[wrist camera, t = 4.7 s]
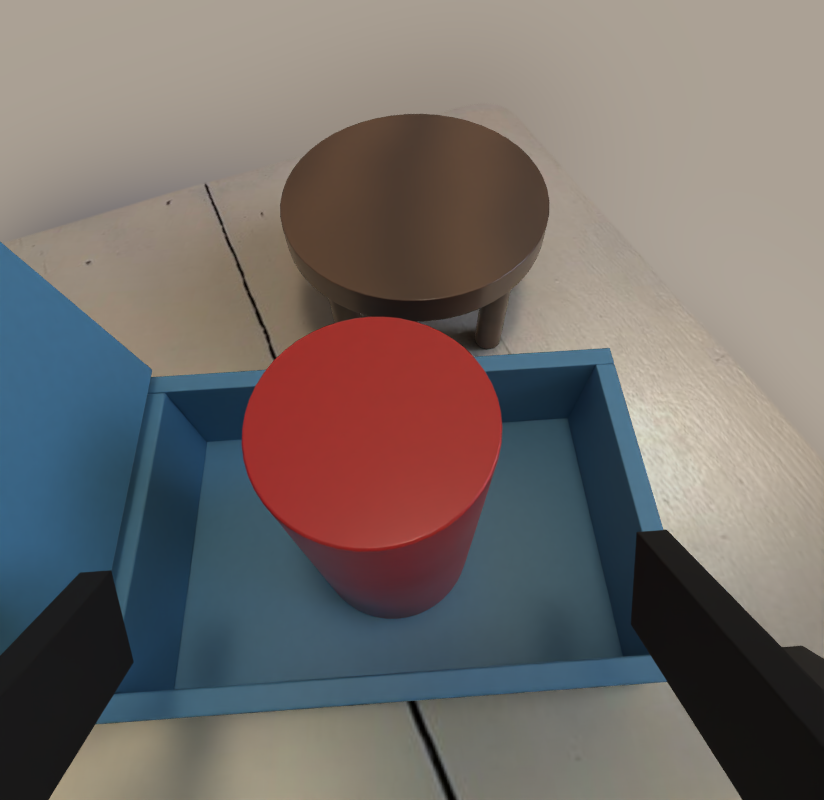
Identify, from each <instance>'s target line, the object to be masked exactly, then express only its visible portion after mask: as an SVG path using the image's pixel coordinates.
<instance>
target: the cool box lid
mask: <svg viewBox="0 0 824 800" xmlns="http://www.w3.org/2000/svg"><path fill="white" fill-rule="evenodd" d="M151 374H152V369H151V368H149V367H148V366H147V365H146V364H145V363H143V362H142V361H141V360H140V359H139V358H138V357H136V356H135V355H134V354H133V353H132V352H130V351H129V350H128V349H127V348H126V347H124V346H123V345H122V344H121V343H120V342H119V341H117V340H116V339H115V338H114V337H113V336H111V335H110V334H109V333H108V332H107V331H105V330H104V329H103V328H102V327H101V326H100V325H98V324H97V323H96V322H95V321H94V320H92V319H91V318H90V317H89V316H88V315H86V314H85V313H84V312H83V311H82V310H81V309H79V308H78V307H77V306H76V305H75V304H73V303H72V302H71V301H70V300H69V299H68V298H66V297H65V296H64V295H63V294H62V293H60V292H59V291H58V290H57V289H56V288H54V287H53V286H52V285H51V284H50V283H49V282H47V281H46V280H45V279H44V278H43V277H41V276H40V275H39V274H38V273H37V272H35V271H34V270H33V269H32V268H31V267H30V266H28V265H27V264H26V263H25V262H24V261H22V260H21V259H20V258H19V257H18V256H17V255H15V254H14V253H13V252H12V251H11V250H9V249H8V248H7V247H6V246H5V245H3V244H2V243H1V242H0V655H1V654H2V653H3V652H4V651H5V650H6V649H7V648H8V647H9V646H10V645H11V644H12V643H13V642H14V641H15V640H16V639H17V638H18V637H19V635H20V634H21V633H22V632H23V631H24V630H25V629H26V628H27V627H28V626H29V625H30V624H31V623H32V622H33V621H34V620H35V619H36V618H37V617H38V616H39V615H40V614H41V613H42V612H43V611H44V609H45V608H46V607H47V606H48V605H49V604H50V603H51V602H52V601H53V600H54V599H55V598H56V597H57V596H58V595H59V594H60V593H61V592H62V591H63V590H64V589H65V588H66V587H67V586H68V584H69V583H70V582H71V581H72V580H73V579H74V578H75V577H76V576H77V575H78V574H79V573H81V572H94V571H108V570H111V571H112V566H113V561H114V556H115V551H116V546H117V541H118V536H119V531H120V526H121V522H122V517H123V512H124V507H125V502H126V497H127V492H128V487H129V482H130V477H131V472H132V467H133V462H134V458H135V453H136V448H137V443H138V438H139V433H140V428H141V423H142V418H143V413H144V408H145V403H146V398H147V394H148V389H149V384H150V379H151Z"/></svg>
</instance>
